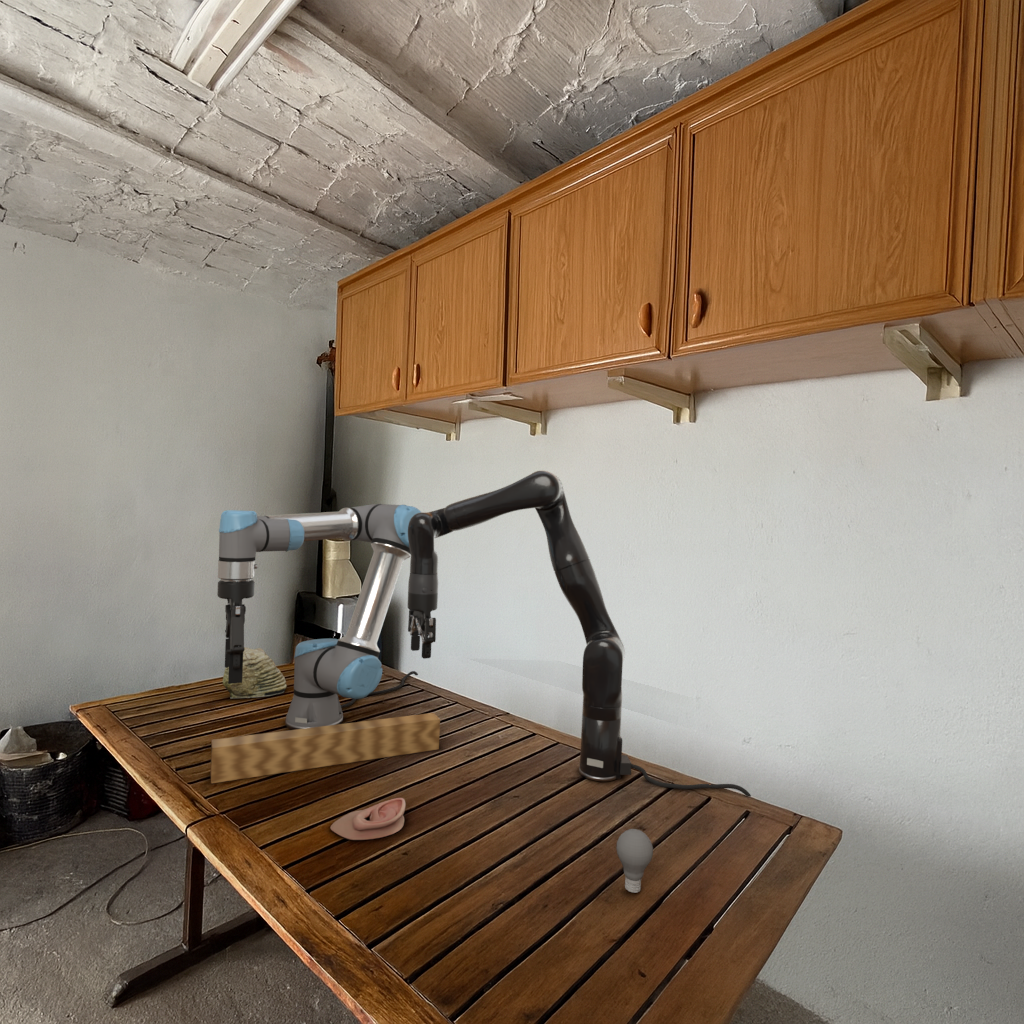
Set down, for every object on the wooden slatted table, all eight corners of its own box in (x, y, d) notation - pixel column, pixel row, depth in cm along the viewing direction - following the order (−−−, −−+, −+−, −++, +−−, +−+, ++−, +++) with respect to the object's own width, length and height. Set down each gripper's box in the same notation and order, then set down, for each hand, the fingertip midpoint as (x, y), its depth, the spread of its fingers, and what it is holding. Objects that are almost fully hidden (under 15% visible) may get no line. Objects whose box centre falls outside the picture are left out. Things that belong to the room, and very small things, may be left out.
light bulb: (610, 879, 108) (613, 822, 108) (644, 879, 109) (647, 822, 109) (619, 902, 102) (622, 840, 102) (655, 901, 103) (658, 840, 103)
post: (211, 783, 138) (212, 747, 137) (210, 774, 142) (211, 739, 142) (438, 749, 162) (440, 719, 162) (432, 742, 166) (433, 712, 166)
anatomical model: (323, 814, 118) (350, 787, 130) (322, 835, 118) (350, 806, 130) (389, 824, 116) (412, 796, 127) (389, 846, 116) (411, 816, 127)
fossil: (218, 695, 195) (220, 647, 195) (278, 685, 208) (279, 640, 207) (228, 703, 189) (230, 653, 188) (289, 692, 201) (290, 645, 201)
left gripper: (260, 587, 131) (256, 688, 132) (249, 572, 154) (246, 659, 154) (220, 588, 128) (217, 692, 128) (215, 572, 150) (212, 661, 151)
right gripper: (447, 594, 156) (444, 659, 157) (427, 586, 169) (425, 646, 169) (418, 595, 153) (415, 662, 153) (400, 587, 166) (397, 648, 166)
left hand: (233, 674), depth 141 cm, fingers open, 13 cm apart
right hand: (420, 654), depth 161 cm, fingers open, 8 cm apart
